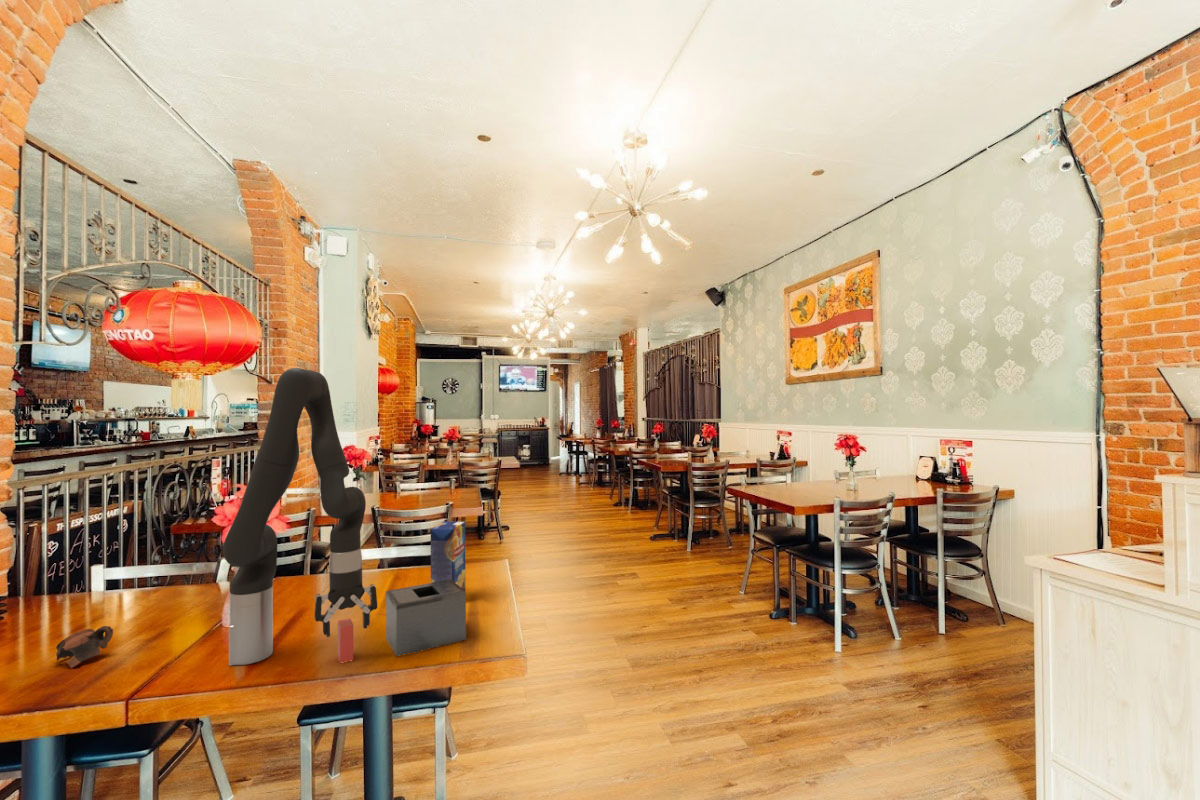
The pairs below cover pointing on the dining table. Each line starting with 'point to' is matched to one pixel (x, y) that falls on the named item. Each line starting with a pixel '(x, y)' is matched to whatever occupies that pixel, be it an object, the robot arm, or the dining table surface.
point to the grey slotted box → (425, 616)
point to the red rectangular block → (345, 640)
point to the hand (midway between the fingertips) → (346, 631)
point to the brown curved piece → (83, 645)
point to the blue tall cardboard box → (448, 553)
